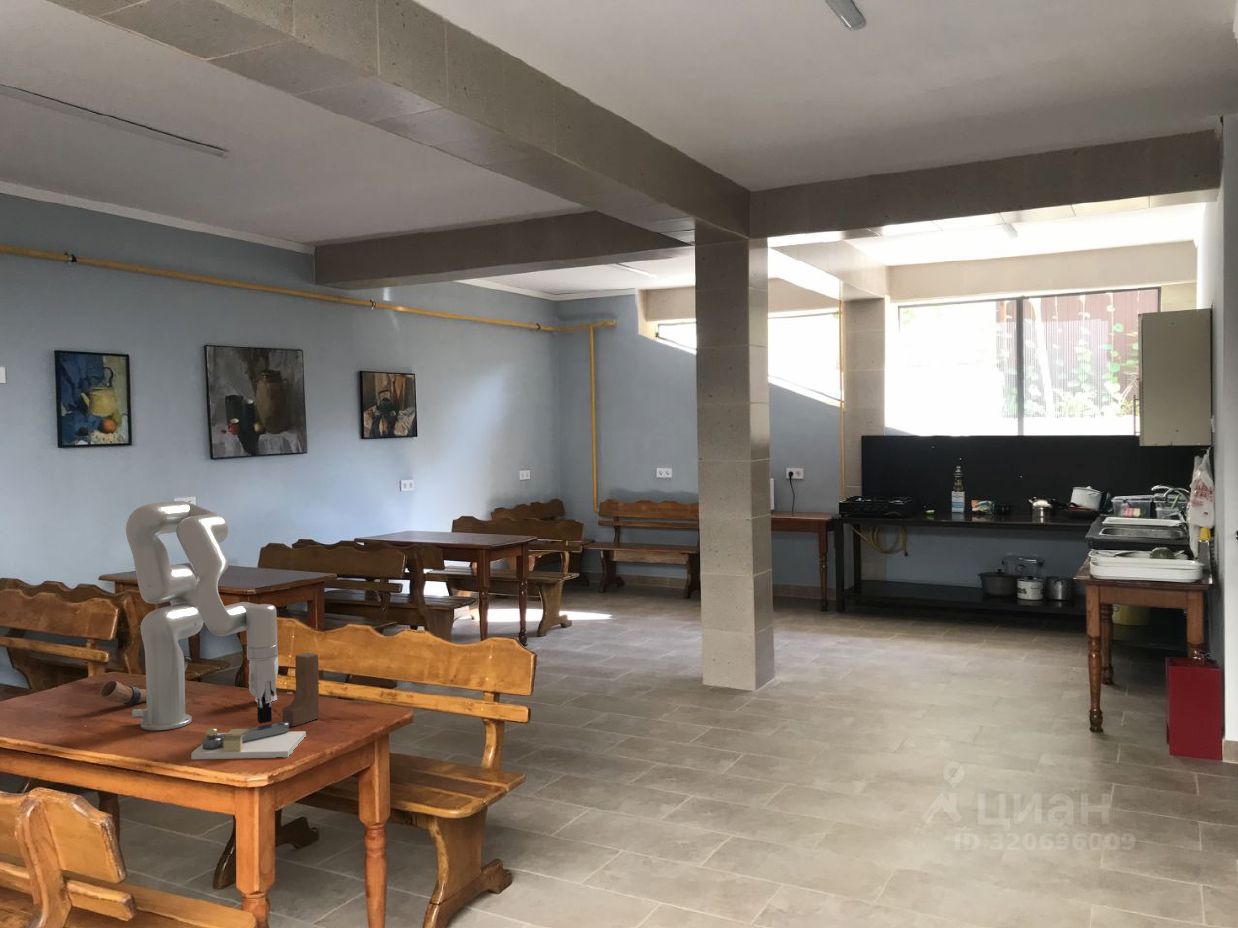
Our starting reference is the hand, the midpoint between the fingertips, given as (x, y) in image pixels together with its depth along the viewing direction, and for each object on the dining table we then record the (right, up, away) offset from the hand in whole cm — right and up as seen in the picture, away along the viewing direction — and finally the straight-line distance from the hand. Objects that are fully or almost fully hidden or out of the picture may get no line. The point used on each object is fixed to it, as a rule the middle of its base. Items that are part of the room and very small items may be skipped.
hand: (264, 721), depth 260 cm
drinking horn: (-46, -3, +33) cm, 57 cm away
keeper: (-4, -2, -16) cm, 17 cm away
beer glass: (-11, -2, +32) cm, 34 cm away
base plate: (+1, -4, -12) cm, 12 cm away
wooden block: (+6, -3, +11) cm, 13 cm away
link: (-1, -2, -10) cm, 11 cm away
